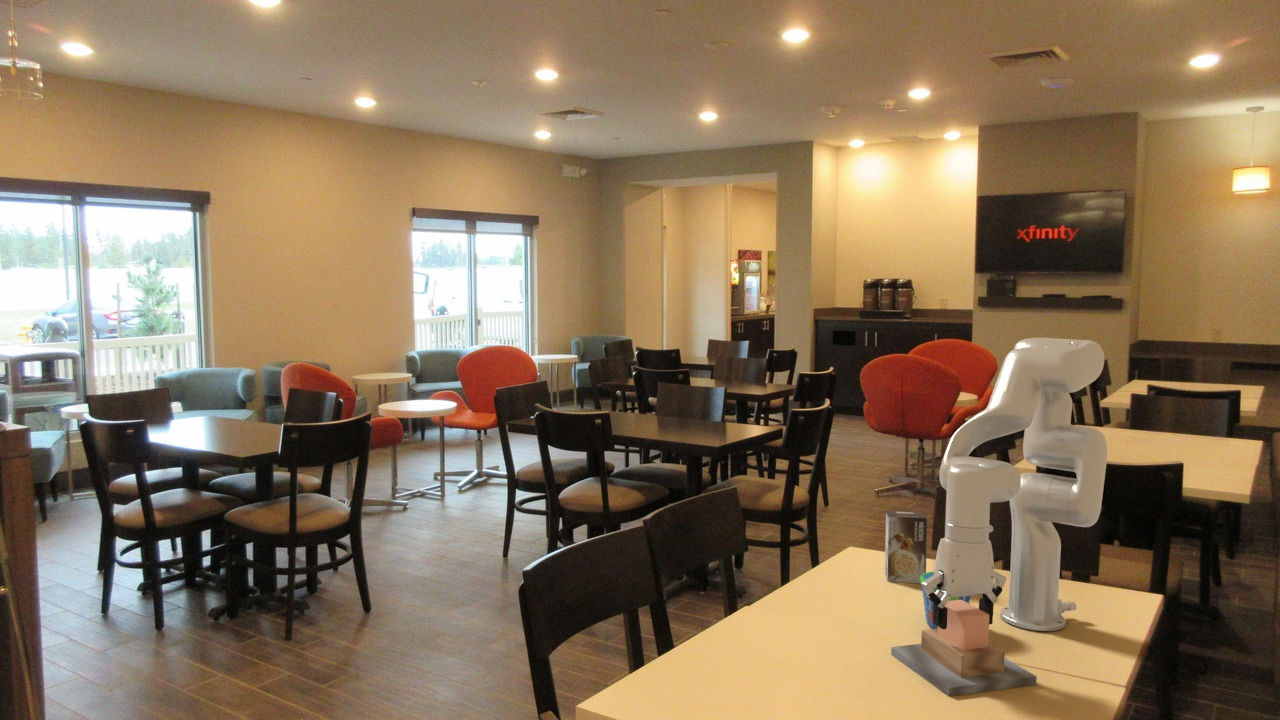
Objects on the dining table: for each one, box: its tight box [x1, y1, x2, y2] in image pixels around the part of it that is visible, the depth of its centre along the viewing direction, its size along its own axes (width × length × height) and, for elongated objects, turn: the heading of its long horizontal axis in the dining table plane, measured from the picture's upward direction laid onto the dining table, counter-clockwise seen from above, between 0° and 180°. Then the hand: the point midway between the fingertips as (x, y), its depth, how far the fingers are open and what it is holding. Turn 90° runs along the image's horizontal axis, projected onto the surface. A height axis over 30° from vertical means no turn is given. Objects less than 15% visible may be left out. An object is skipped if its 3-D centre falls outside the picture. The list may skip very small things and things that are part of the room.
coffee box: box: [884, 510, 928, 584], centre depth 214 cm, size 9×6×16 cm
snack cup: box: [919, 571, 972, 629], centre depth 184 cm, size 16×10×10 cm
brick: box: [937, 600, 990, 650], centre depth 162 cm, size 5×8×6 cm, turn 16°
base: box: [890, 628, 1037, 697], centre depth 163 cm, size 18×18×6 cm
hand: (962, 624), depth 162 cm, fingers open, 9 cm apart
